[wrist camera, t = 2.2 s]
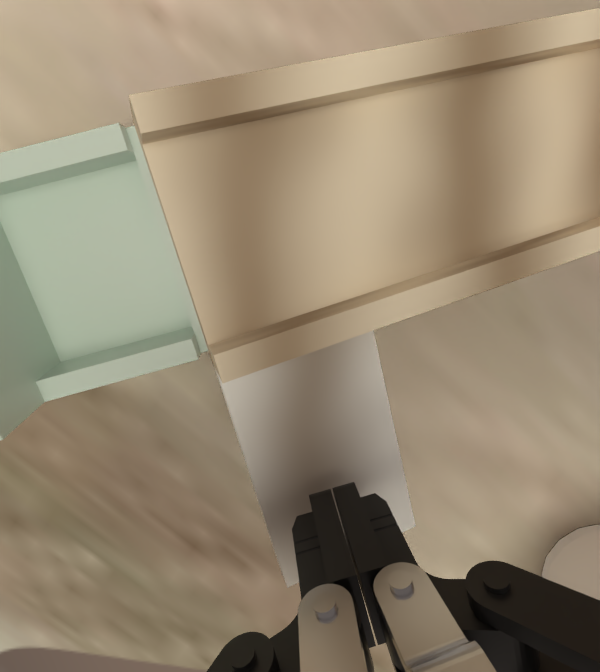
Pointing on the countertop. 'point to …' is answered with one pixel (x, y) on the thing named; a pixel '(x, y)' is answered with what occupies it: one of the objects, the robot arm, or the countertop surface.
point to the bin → (85, 272)
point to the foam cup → (576, 561)
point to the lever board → (366, 226)
